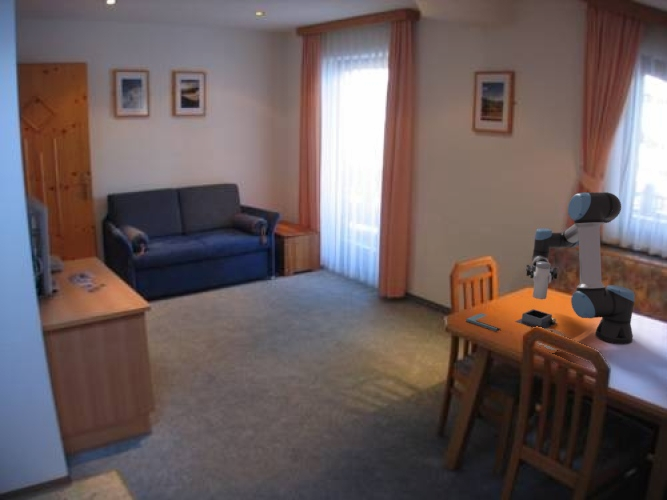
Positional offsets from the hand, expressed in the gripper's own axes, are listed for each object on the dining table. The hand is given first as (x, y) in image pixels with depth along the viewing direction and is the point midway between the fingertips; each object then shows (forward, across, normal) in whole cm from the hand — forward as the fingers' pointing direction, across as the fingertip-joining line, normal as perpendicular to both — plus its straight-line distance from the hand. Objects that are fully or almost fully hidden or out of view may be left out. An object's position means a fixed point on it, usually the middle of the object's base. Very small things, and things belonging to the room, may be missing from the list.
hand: (542, 279), depth 283 cm
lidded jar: (+23, -5, -24) cm, 34 cm away
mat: (0, +21, -24) cm, 32 cm away
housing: (-5, 0, -24) cm, 24 cm away
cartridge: (-5, 0, -10) cm, 11 cm away
